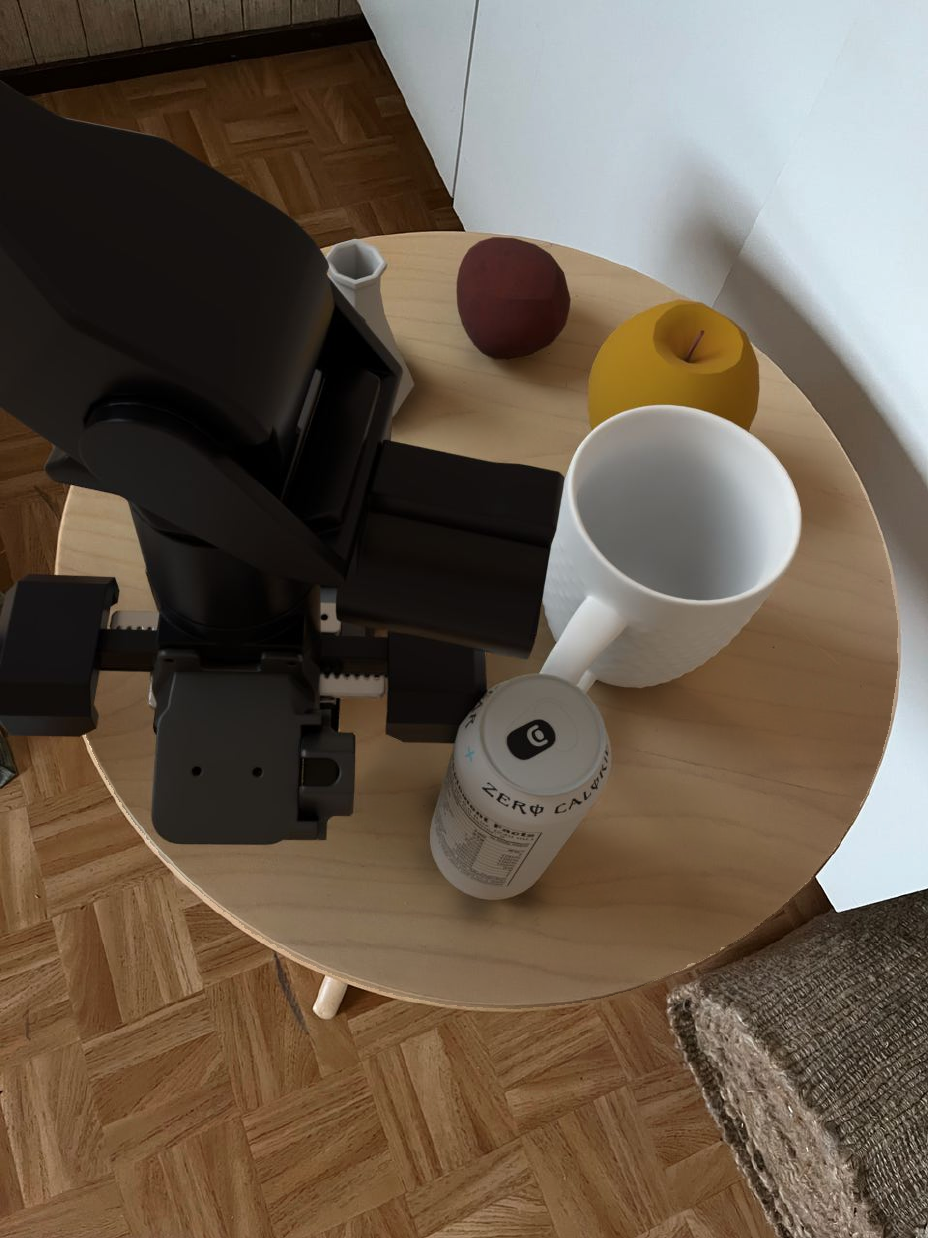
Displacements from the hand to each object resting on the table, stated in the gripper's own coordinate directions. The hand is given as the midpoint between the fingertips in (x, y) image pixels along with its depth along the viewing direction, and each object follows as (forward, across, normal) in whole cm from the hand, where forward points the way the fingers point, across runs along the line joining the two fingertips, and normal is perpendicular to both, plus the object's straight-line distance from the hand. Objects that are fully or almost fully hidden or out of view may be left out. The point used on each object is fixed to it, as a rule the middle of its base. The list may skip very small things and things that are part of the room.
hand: (261, 742), depth 47 cm
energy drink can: (+4, +11, -3) cm, 13 cm away
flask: (+3, +4, +26) cm, 26 cm away
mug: (+4, +18, +8) cm, 20 cm away
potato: (+3, +14, +31) cm, 34 cm away
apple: (+3, +22, +21) cm, 30 cm away
